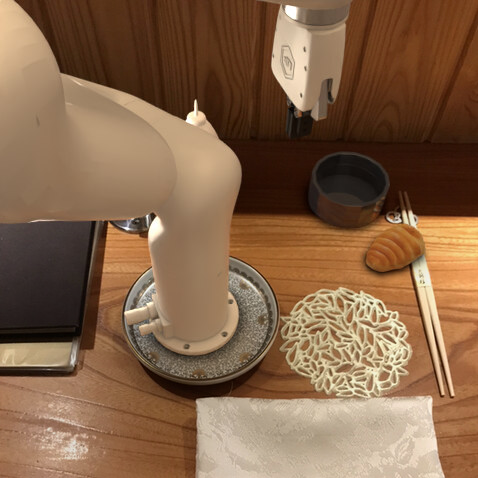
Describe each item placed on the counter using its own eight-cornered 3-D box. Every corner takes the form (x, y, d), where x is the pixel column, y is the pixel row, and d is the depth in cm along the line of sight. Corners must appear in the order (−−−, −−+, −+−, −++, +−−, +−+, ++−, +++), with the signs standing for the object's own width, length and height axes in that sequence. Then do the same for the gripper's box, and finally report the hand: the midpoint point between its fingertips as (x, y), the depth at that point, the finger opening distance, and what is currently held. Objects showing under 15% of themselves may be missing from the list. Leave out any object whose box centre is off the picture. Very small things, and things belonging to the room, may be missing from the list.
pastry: (385, 284, 84) (391, 269, 81) (353, 256, 87) (358, 240, 84) (426, 255, 88) (434, 238, 84) (394, 229, 90) (401, 212, 87)
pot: (328, 236, 89) (334, 214, 85) (296, 184, 95) (299, 161, 91) (395, 216, 92) (403, 194, 88) (359, 167, 98) (366, 144, 93)
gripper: (258, -30, 64) (252, 106, 80) (315, 43, 57) (296, 177, 73) (317, -41, 66) (299, 94, 82) (380, 28, 59) (347, 162, 74)
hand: (298, 133), depth 77 cm, fingers closed
